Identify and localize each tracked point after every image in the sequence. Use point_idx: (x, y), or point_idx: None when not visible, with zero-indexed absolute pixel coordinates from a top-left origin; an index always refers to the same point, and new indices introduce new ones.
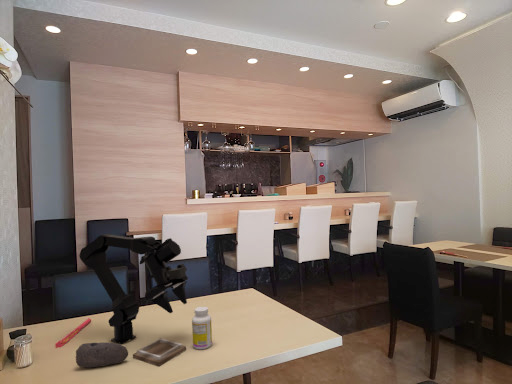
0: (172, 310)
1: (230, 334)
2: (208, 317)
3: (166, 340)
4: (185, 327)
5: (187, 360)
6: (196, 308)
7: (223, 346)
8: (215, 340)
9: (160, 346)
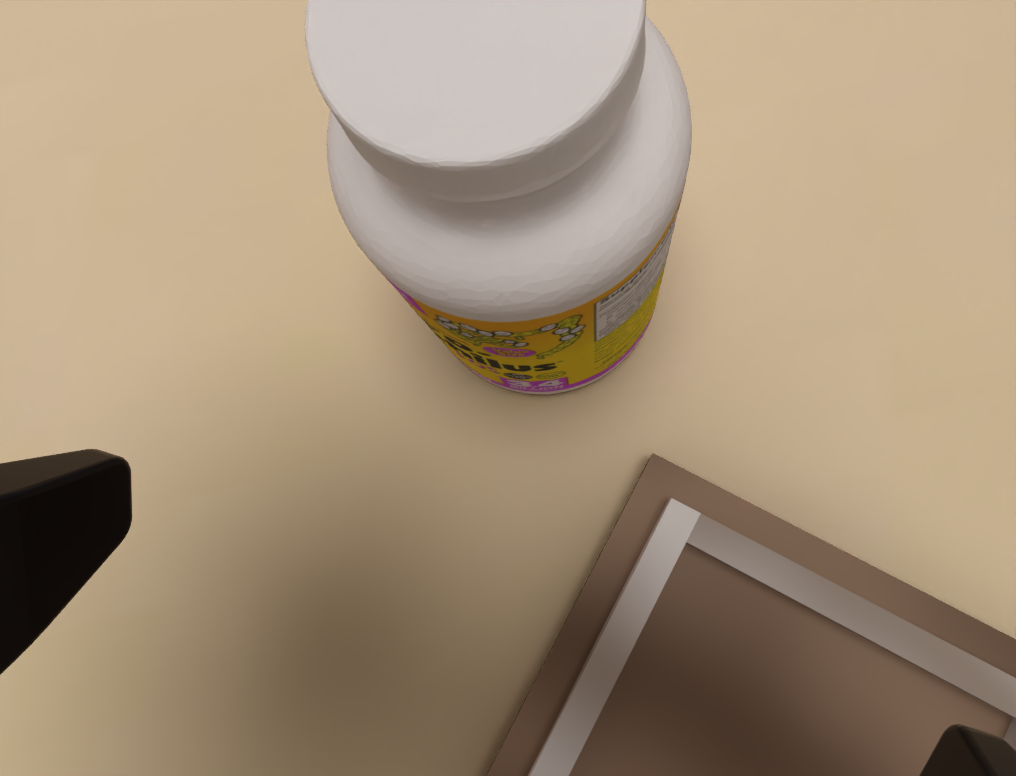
0: (981, 746)
1: (283, 50)
2: None
3: (557, 757)
4: None
5: (907, 376)
6: (434, 127)
7: None
8: None
9: None
